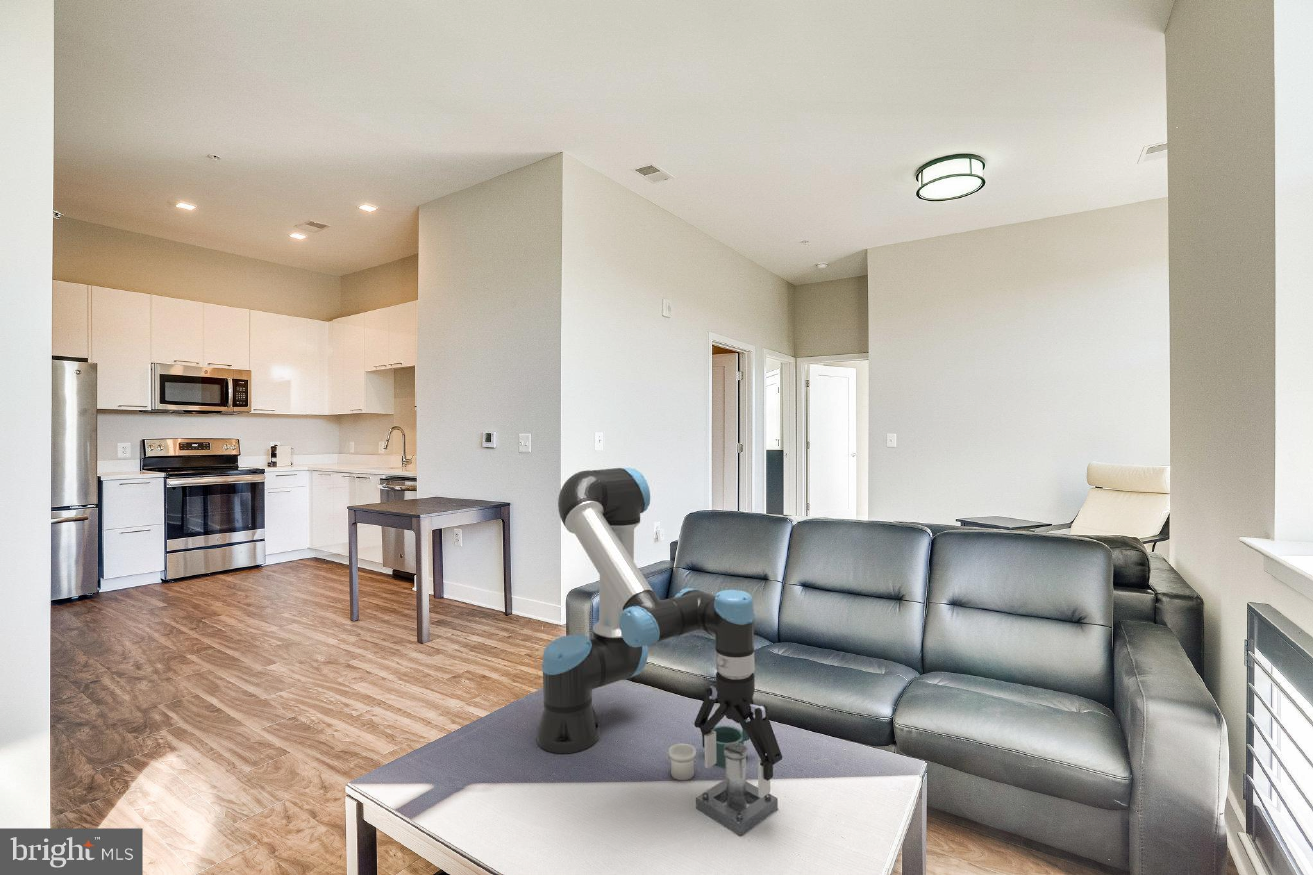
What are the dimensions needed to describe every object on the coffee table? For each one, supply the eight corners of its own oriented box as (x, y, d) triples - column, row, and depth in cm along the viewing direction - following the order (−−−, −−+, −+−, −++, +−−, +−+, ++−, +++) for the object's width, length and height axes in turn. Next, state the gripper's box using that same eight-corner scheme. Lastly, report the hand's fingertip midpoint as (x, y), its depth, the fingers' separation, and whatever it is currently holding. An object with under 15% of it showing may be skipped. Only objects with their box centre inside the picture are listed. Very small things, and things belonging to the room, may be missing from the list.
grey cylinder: (719, 808, 120) (718, 748, 120) (734, 798, 124) (734, 739, 123) (737, 819, 117) (737, 757, 117) (752, 808, 120) (752, 748, 120)
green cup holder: (753, 759, 138) (752, 720, 138) (720, 771, 133) (719, 731, 133) (729, 742, 145) (728, 704, 145) (696, 753, 141) (696, 714, 141)
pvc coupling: (663, 773, 133) (663, 750, 133) (682, 762, 137) (682, 740, 137) (682, 784, 129) (682, 761, 128) (701, 773, 133) (701, 750, 132)
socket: (696, 808, 121) (695, 794, 121) (733, 784, 128) (733, 771, 128) (740, 836, 112) (740, 821, 112) (777, 809, 120) (777, 795, 120)
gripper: (676, 659, 126) (678, 761, 127) (775, 698, 108) (777, 817, 108) (701, 649, 131) (702, 747, 132) (800, 685, 113) (801, 798, 114)
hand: (736, 779), depth 120 cm, fingers open, 13 cm apart
